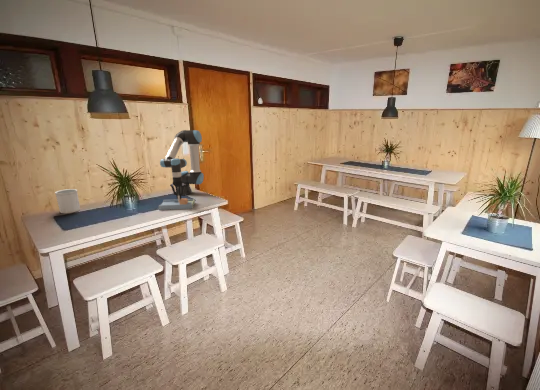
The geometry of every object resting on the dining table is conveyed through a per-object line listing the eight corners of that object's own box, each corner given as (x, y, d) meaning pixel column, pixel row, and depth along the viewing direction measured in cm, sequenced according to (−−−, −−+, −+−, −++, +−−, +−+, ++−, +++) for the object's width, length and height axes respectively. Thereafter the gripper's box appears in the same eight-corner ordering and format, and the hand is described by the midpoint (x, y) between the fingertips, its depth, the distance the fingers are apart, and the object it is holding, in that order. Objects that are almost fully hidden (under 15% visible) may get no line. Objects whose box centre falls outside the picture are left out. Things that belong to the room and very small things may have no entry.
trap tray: (163, 204, 240) (163, 199, 239) (195, 203, 243) (194, 198, 242) (158, 209, 224) (158, 205, 223) (192, 208, 228) (191, 204, 227)
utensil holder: (71, 207, 230) (67, 188, 225) (85, 208, 227) (81, 189, 222) (55, 213, 216) (50, 192, 211) (69, 214, 213) (65, 193, 209)
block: (181, 202, 236) (180, 198, 235) (187, 202, 236) (187, 198, 235) (179, 204, 230) (179, 200, 229) (186, 204, 231) (186, 200, 230)
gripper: (168, 177, 222) (171, 203, 229) (183, 177, 223) (186, 203, 230) (170, 175, 229) (173, 201, 236) (185, 175, 230) (187, 200, 237)
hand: (179, 202), depth 233 cm, fingers closed
